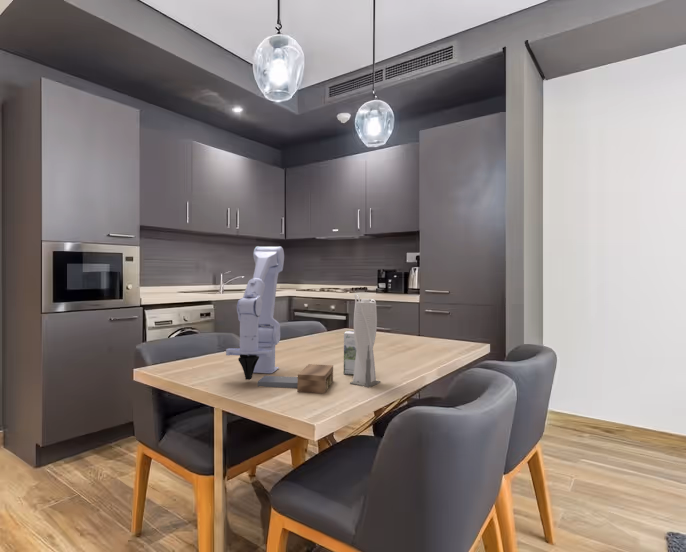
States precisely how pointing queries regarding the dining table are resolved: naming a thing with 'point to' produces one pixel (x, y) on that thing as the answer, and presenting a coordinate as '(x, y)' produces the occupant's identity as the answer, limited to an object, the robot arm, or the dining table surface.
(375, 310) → the skyscraper
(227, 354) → the robot arm
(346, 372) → the syrup box
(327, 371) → the walnut shelf bridge
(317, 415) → the dining table surface
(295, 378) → the slate tile
